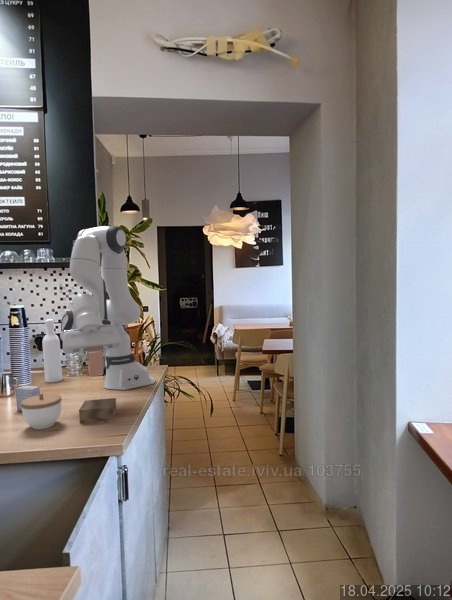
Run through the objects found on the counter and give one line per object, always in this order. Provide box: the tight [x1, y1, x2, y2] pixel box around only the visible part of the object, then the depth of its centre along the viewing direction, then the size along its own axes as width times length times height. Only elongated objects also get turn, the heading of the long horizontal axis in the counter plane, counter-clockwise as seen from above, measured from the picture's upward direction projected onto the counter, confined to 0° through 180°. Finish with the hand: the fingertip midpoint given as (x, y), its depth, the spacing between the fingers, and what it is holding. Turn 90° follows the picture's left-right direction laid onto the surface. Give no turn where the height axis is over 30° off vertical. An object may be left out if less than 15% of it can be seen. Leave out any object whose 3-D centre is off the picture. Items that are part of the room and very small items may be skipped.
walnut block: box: [78, 397, 117, 424], centre depth 151 cm, size 11×11×5 cm
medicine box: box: [14, 385, 41, 412], centre depth 162 cm, size 8×4×9 cm, turn 71°
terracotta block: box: [86, 350, 105, 377], centre depth 149 cm, size 4×4×8 cm
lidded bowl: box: [21, 392, 62, 430], centre depth 144 cm, size 13×13×11 cm
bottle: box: [41, 318, 63, 384], centre depth 205 cm, size 8×8×30 cm
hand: (95, 358), depth 149 cm, fingers closed on terracotta block, 4 cm apart
